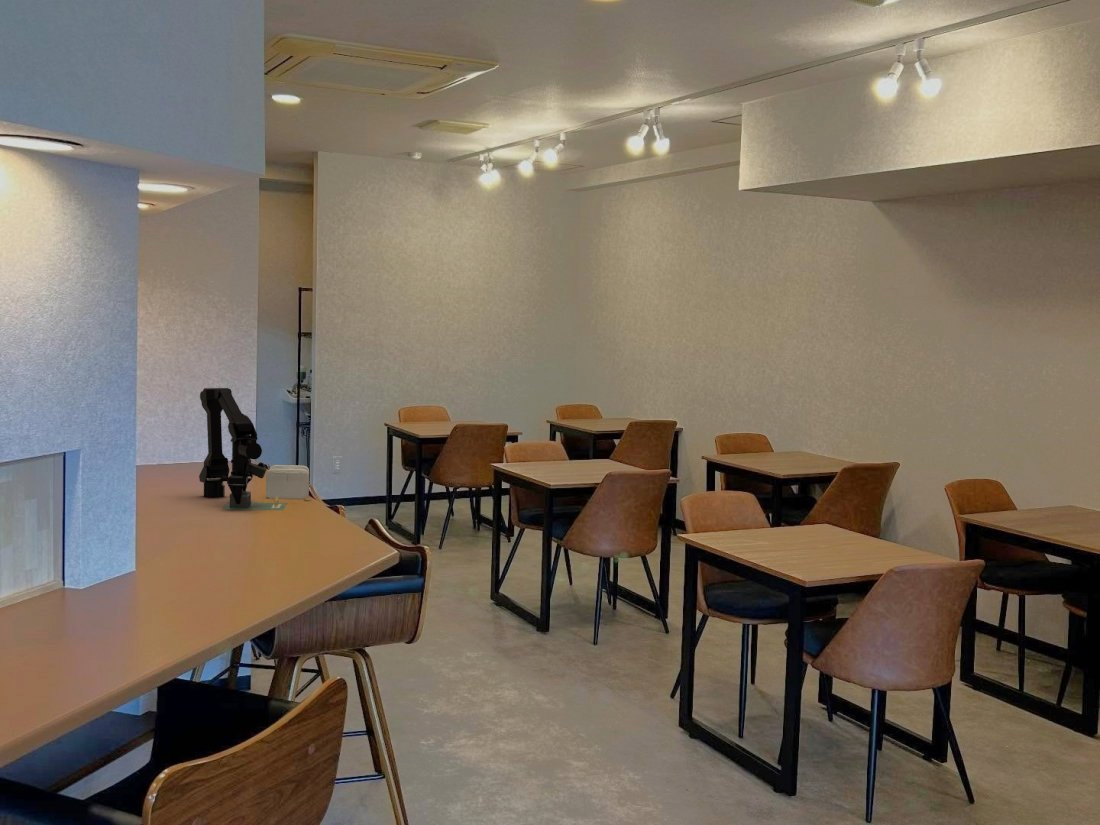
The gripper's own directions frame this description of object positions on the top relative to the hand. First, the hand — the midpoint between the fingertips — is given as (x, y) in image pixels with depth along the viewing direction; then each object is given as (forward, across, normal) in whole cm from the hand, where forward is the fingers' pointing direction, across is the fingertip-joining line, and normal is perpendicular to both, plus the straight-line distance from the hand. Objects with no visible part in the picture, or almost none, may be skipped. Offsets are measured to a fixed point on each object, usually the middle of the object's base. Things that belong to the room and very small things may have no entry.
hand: (240, 501), depth 349 cm
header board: (+2, 0, -5) cm, 6 cm away
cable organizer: (+3, +21, -14) cm, 25 cm away
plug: (+2, 0, 0) cm, 2 cm away
